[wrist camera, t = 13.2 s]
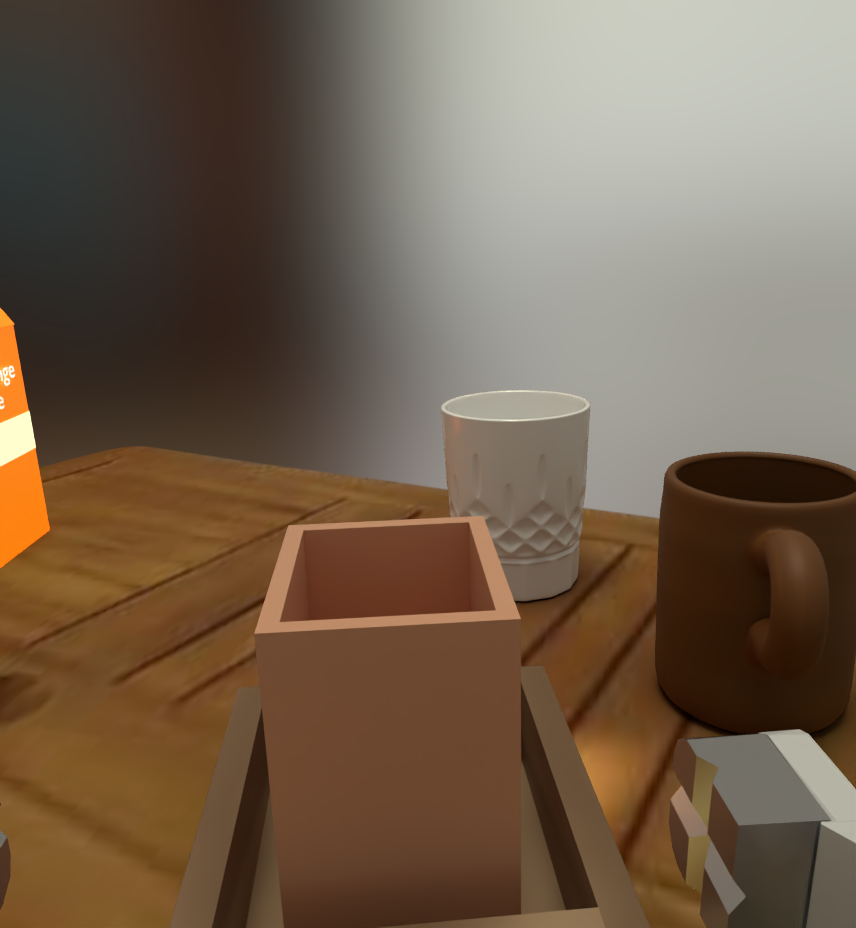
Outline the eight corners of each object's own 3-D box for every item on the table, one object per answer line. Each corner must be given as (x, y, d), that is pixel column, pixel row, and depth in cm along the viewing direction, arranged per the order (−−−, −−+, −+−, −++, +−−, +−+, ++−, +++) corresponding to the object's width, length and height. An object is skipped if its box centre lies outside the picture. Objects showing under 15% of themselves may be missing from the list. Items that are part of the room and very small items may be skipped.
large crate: (176, 1123, 19) (152, 986, 17) (250, 783, 30) (238, 687, 29) (648, 1074, 19) (654, 938, 18) (543, 759, 31) (542, 665, 30)
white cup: (514, 541, 51) (512, 384, 49) (617, 576, 45) (621, 401, 43) (418, 577, 46) (410, 406, 44) (519, 622, 41) (517, 427, 38)
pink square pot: (289, 984, 21) (254, 633, 18) (311, 801, 28) (288, 525, 25) (521, 967, 21) (520, 619, 18) (487, 790, 28) (483, 515, 25)
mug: (916, 841, 25) (957, 561, 23) (663, 813, 27) (675, 549, 24) (824, 652, 37) (844, 450, 34) (649, 640, 38) (656, 447, 36)
